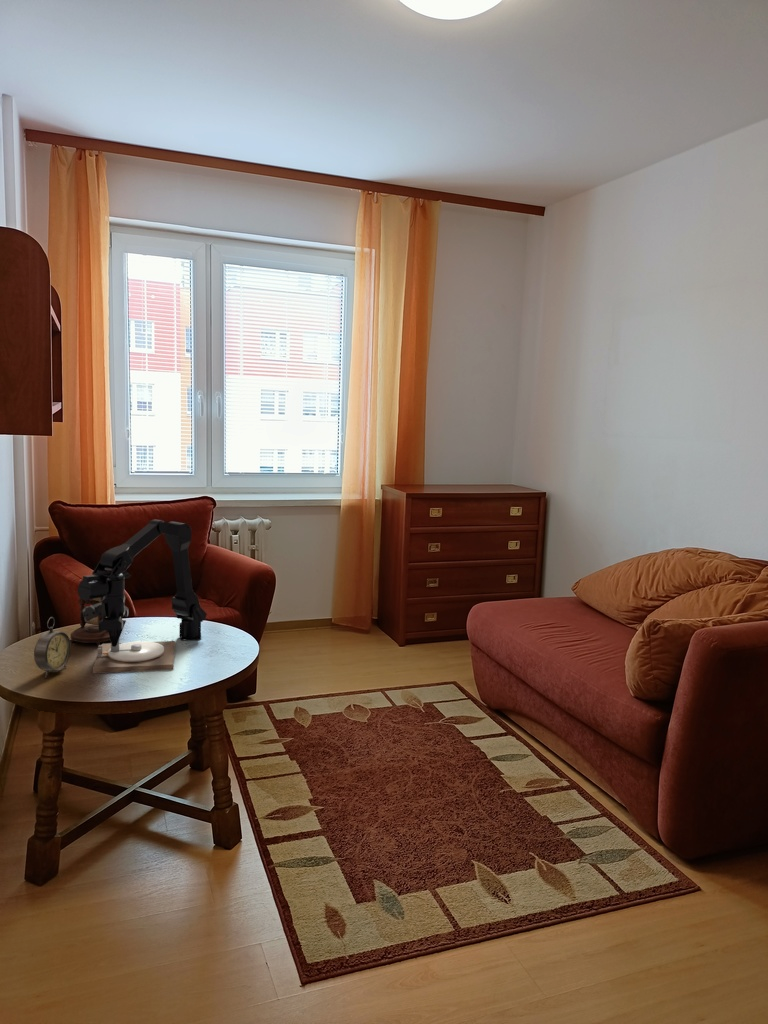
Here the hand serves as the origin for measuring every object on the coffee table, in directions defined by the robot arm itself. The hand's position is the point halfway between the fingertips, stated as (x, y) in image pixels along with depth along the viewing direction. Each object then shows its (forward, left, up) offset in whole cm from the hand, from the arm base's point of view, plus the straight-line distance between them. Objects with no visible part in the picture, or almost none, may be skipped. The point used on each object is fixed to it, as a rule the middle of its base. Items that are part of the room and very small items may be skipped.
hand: (114, 646), depth 212 cm
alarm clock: (+16, +6, -5) cm, 18 cm away
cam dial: (-5, -3, -3) cm, 7 cm away
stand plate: (-6, -3, -5) cm, 9 cm away
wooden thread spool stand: (+8, -23, -5) cm, 25 cm away
